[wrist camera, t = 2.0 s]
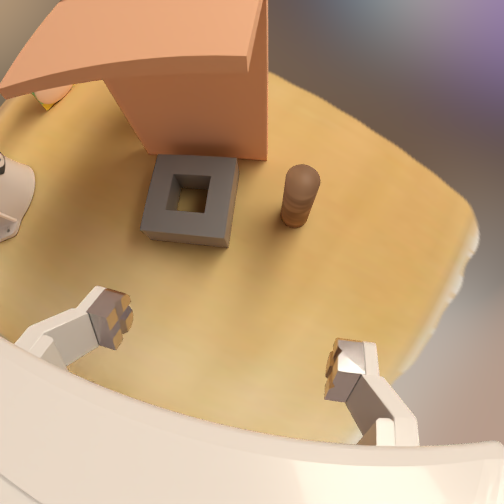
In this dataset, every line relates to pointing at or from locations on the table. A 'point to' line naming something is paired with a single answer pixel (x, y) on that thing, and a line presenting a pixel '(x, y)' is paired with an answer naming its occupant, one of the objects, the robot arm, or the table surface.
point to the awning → (162, 69)
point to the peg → (299, 194)
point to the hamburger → (51, 95)
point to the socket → (194, 177)
